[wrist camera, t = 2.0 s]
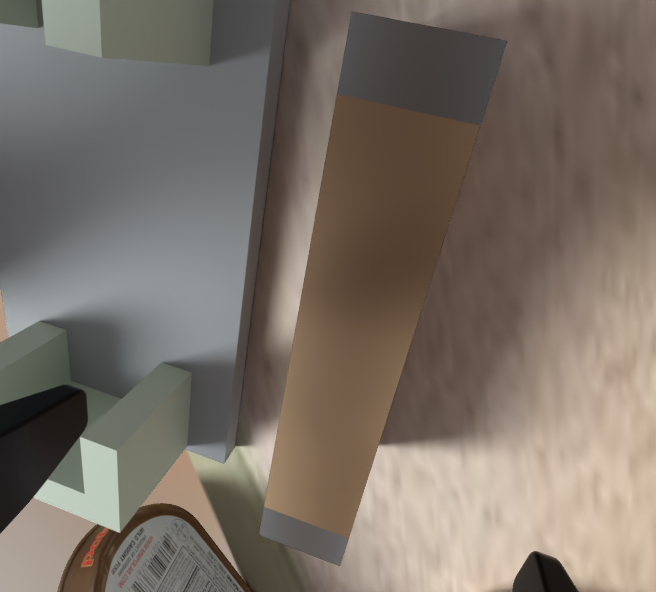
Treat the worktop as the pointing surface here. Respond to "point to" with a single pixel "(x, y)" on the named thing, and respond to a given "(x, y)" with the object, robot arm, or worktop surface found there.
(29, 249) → the post frame
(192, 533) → the tin
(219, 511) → the worktop surface
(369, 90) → the rail
